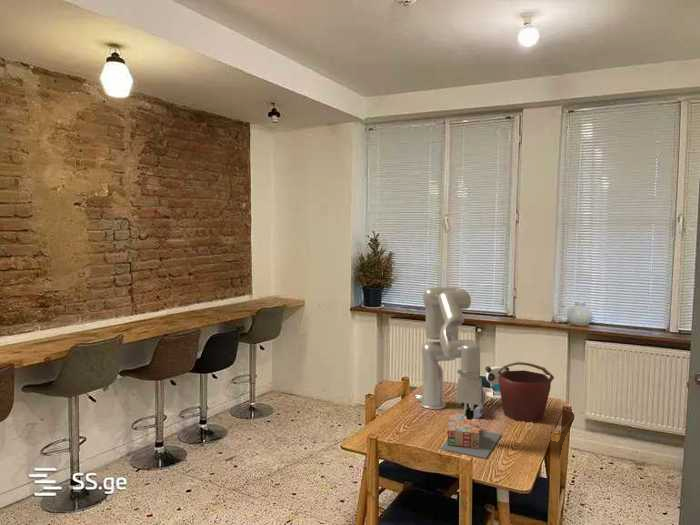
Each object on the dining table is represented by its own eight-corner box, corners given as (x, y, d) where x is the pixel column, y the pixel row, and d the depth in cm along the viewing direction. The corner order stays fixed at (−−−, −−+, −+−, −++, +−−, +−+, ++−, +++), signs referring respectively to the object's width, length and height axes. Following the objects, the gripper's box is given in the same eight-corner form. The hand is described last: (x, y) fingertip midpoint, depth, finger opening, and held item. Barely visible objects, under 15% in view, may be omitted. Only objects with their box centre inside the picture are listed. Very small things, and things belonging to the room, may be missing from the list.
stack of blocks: (449, 412, 228) (478, 414, 225) (449, 426, 228) (478, 428, 225) (447, 430, 207) (479, 433, 204) (447, 445, 207) (479, 448, 205)
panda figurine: (488, 398, 268) (489, 369, 267) (482, 391, 279) (483, 364, 278) (511, 398, 268) (512, 369, 267) (505, 391, 279) (505, 364, 278)
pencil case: (482, 420, 237) (483, 399, 236) (463, 418, 240) (463, 397, 239) (485, 405, 257) (486, 386, 256) (467, 403, 260) (468, 385, 259)
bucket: (559, 417, 241) (560, 363, 240) (538, 430, 225) (539, 373, 224) (510, 404, 258) (511, 354, 257) (487, 415, 243) (488, 362, 241)
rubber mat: (440, 449, 205) (440, 448, 205) (459, 427, 228) (459, 426, 228) (485, 459, 196) (485, 457, 196) (501, 435, 219) (501, 434, 219)
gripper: (449, 374, 211) (448, 418, 212) (486, 379, 204) (485, 425, 205) (455, 369, 218) (454, 412, 219) (491, 374, 211) (490, 419, 212)
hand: (469, 418), depth 212 cm, fingers closed
